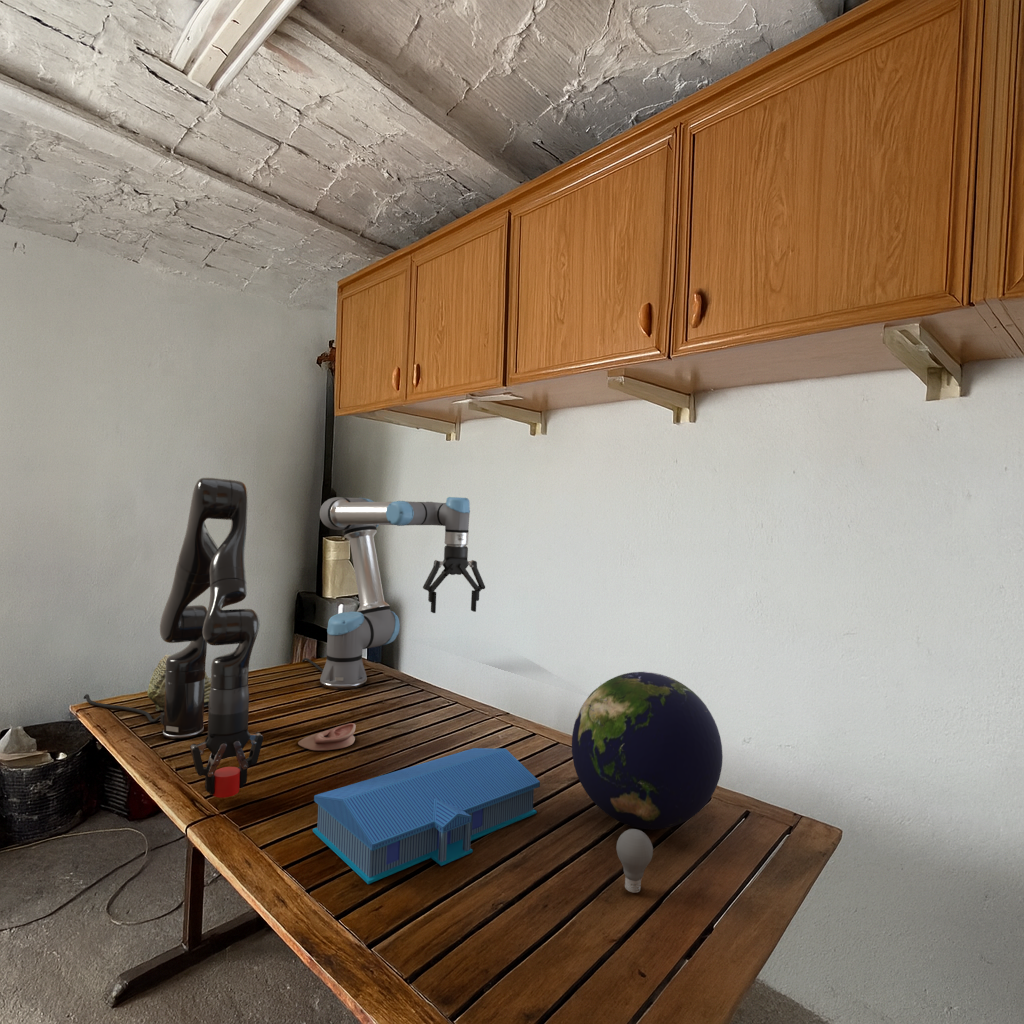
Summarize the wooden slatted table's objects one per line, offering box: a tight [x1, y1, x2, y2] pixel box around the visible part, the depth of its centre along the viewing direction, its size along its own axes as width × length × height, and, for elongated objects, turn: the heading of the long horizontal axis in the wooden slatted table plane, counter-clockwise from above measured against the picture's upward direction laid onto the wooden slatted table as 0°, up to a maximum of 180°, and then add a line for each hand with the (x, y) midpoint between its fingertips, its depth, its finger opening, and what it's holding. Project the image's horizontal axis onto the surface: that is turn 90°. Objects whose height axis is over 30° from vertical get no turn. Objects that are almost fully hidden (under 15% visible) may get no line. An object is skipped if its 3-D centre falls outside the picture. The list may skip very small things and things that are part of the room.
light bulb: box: [615, 828, 654, 894], centre depth 106 cm, size 6×6×10 cm
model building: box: [312, 747, 541, 885], centre depth 124 cm, size 39×24×10 cm, turn 132°
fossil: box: [147, 654, 211, 712], centre depth 185 cm, size 9×18×15 cm, turn 132°
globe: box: [571, 671, 724, 831], centre depth 129 cm, size 30×30×30 cm
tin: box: [212, 766, 241, 799], centre depth 129 cm, size 5×5×4 cm
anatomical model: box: [297, 722, 357, 751], centre depth 162 cm, size 13×4×12 cm
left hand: (226, 789), depth 130 cm, fingers closed on tin, 5 cm apart
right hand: (453, 611), depth 203 cm, fingers open, 13 cm apart
